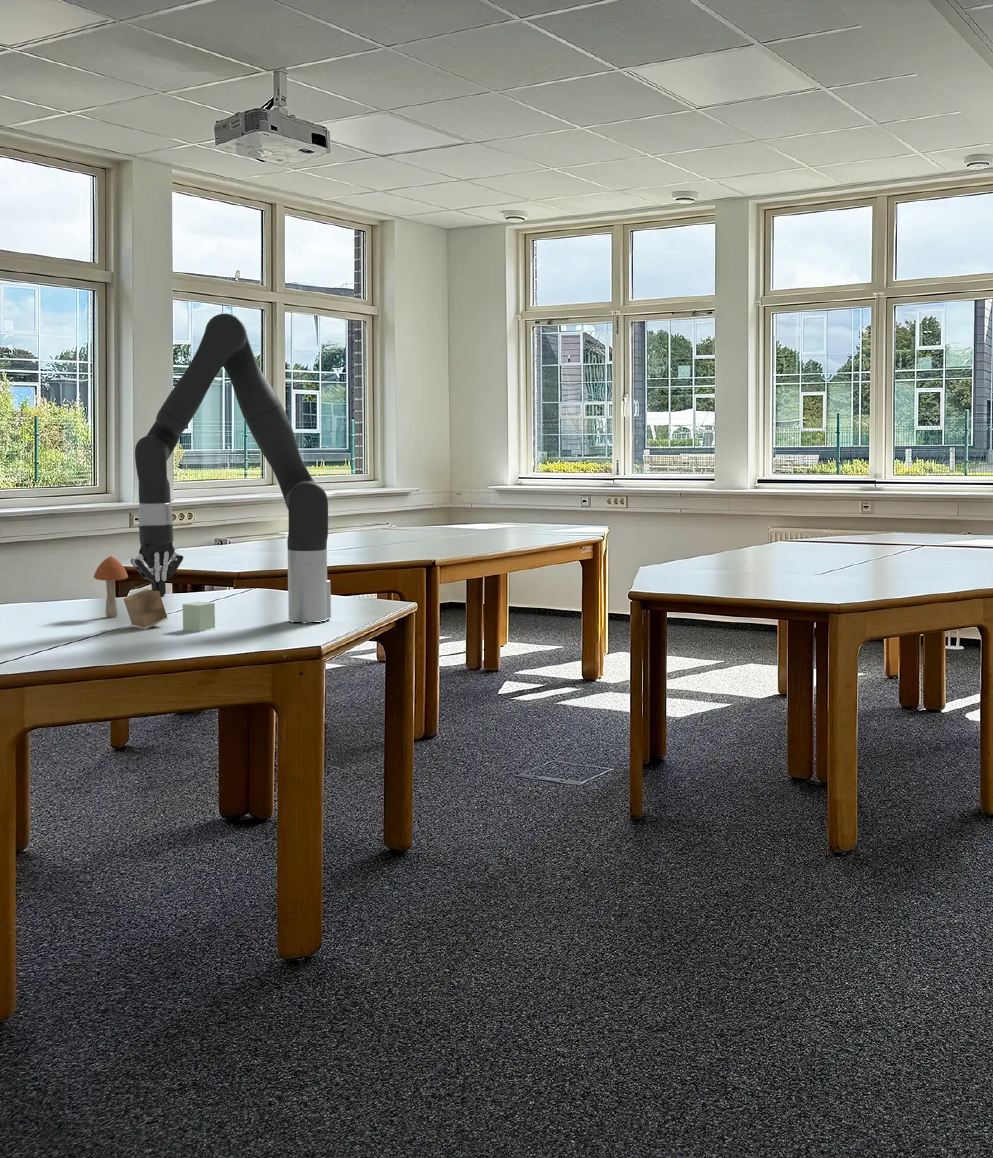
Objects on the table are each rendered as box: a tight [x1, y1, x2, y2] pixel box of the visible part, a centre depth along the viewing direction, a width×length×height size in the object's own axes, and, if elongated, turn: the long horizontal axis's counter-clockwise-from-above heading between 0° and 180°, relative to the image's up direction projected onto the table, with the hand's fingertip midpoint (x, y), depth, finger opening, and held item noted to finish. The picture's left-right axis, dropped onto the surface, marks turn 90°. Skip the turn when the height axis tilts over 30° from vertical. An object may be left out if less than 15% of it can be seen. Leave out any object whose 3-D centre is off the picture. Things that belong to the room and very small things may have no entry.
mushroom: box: [93, 555, 129, 619], centre depth 286 cm, size 8×8×15 cm
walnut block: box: [123, 588, 169, 630], centre depth 272 cm, size 6×6×7 cm
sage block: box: [182, 601, 216, 633], centre depth 269 cm, size 5×5×6 cm
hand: (158, 597), depth 274 cm, fingers closed
